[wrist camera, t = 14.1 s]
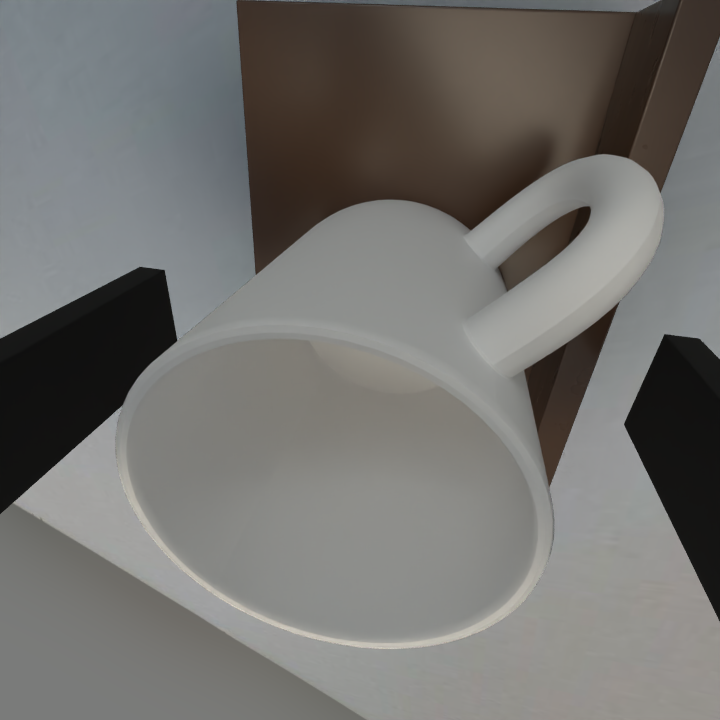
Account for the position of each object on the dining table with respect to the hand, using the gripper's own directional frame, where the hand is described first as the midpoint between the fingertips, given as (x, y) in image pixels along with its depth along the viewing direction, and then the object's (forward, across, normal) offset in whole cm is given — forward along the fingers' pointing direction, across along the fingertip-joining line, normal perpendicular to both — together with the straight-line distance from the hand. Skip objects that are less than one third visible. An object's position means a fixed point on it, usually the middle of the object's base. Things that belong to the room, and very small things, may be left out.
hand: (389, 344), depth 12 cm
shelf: (+10, 0, 0) cm, 10 cm away
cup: (+5, +1, 0) cm, 5 cm away
